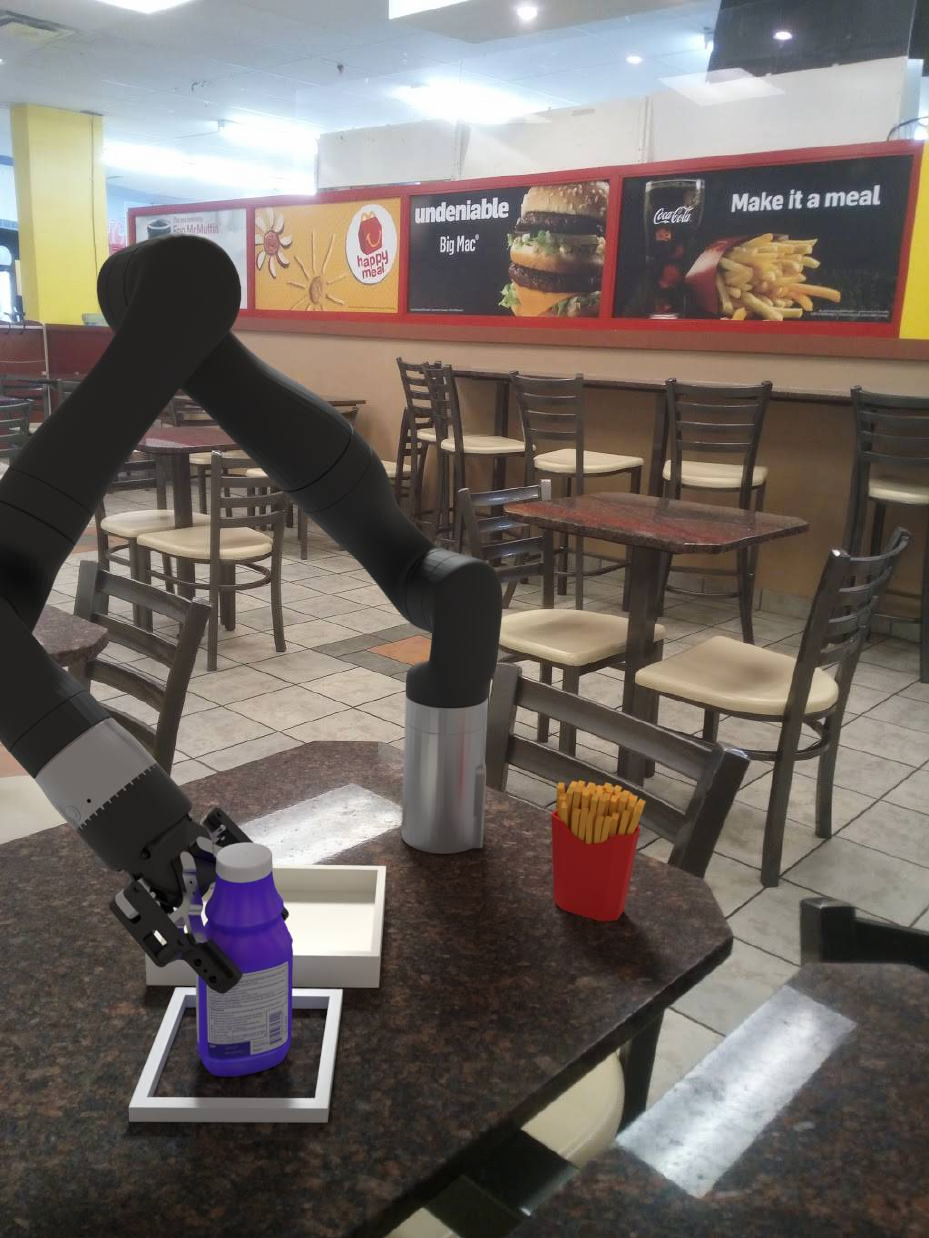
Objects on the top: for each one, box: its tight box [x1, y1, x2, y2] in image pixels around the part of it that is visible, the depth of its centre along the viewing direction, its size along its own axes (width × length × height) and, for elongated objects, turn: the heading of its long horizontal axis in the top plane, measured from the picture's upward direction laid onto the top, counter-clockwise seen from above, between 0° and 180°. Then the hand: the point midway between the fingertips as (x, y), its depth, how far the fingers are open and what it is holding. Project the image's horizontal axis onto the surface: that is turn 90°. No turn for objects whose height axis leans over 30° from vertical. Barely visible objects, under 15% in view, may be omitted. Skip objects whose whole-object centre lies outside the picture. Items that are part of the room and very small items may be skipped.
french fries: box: [550, 780, 647, 922], centre depth 100 cm, size 9×4×13 cm, turn 63°
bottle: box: [195, 842, 293, 1078], centre depth 76 cm, size 7×6×17 cm
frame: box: [128, 986, 344, 1124], centre depth 78 cm, size 14×14×1 cm
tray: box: [144, 863, 387, 989], centre depth 94 cm, size 20×16×3 cm
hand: (258, 953), depth 76 cm, fingers open, 8 cm apart
